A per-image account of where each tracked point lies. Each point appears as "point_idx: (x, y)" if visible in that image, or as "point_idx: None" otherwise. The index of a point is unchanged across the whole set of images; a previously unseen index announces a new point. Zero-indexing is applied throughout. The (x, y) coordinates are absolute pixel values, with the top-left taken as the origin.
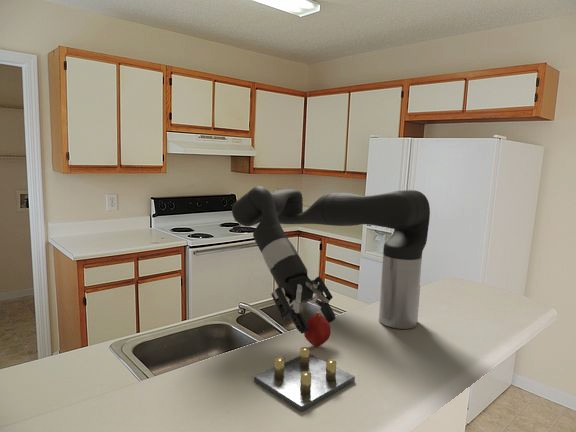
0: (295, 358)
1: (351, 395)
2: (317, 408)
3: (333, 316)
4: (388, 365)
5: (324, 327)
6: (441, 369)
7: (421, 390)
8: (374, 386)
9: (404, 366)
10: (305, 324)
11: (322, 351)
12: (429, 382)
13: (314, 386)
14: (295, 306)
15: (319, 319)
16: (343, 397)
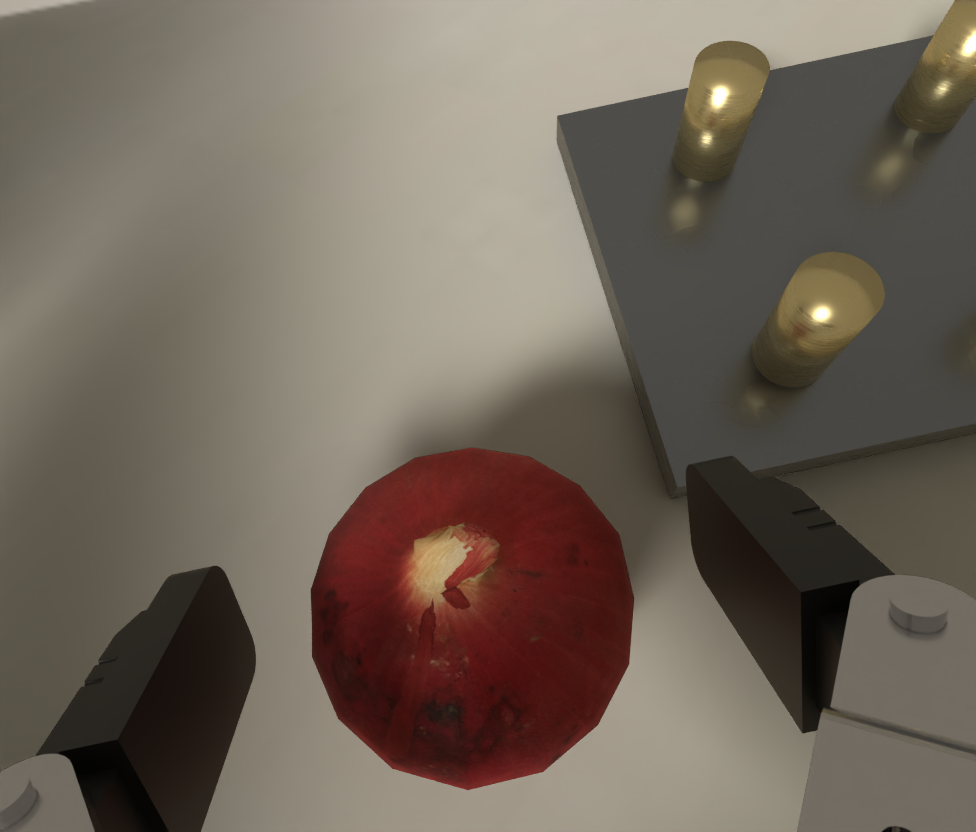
0: (823, 449)
1: (658, 64)
2: None
3: (191, 577)
4: (248, 189)
5: (465, 451)
6: (59, 65)
7: None
8: (492, 77)
9: (183, 149)
10: (735, 482)
11: None
12: (227, 15)
13: (853, 119)
14: (955, 684)
15: (479, 505)
16: None
